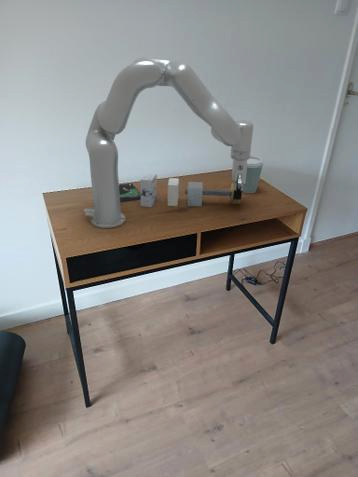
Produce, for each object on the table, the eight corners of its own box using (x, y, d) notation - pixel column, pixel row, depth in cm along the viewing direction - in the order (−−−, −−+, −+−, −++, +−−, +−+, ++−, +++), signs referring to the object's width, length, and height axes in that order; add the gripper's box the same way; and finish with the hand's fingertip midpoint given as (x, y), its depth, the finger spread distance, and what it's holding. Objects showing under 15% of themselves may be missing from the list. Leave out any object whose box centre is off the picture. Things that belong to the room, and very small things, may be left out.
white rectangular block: (167, 205, 151) (167, 185, 146) (169, 198, 157) (169, 178, 153) (177, 206, 150) (177, 185, 146) (178, 198, 157) (178, 178, 153)
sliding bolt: (184, 201, 151) (185, 183, 147) (185, 197, 155) (185, 179, 151) (241, 203, 150) (243, 185, 146) (240, 199, 154) (242, 181, 150)
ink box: (146, 198, 157) (145, 172, 151) (157, 199, 156) (157, 173, 150) (140, 206, 149) (139, 179, 144) (152, 207, 149) (151, 180, 143)
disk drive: (110, 191, 164) (118, 203, 152) (109, 185, 163) (117, 197, 151) (132, 188, 168) (141, 200, 156) (132, 182, 166) (141, 194, 154)
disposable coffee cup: (262, 195, 162) (266, 162, 154) (237, 195, 162) (241, 162, 154) (257, 186, 171) (261, 155, 164) (234, 186, 171) (237, 155, 164)
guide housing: (187, 206, 151) (187, 187, 147) (187, 199, 157) (188, 181, 153) (201, 206, 150) (202, 188, 146) (201, 199, 156) (202, 182, 152)
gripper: (252, 161, 134) (247, 203, 143) (247, 148, 149) (243, 187, 158) (232, 160, 135) (228, 202, 143) (229, 147, 150) (225, 186, 158)
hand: (236, 194), depth 151 cm, fingers open, 9 cm apart
